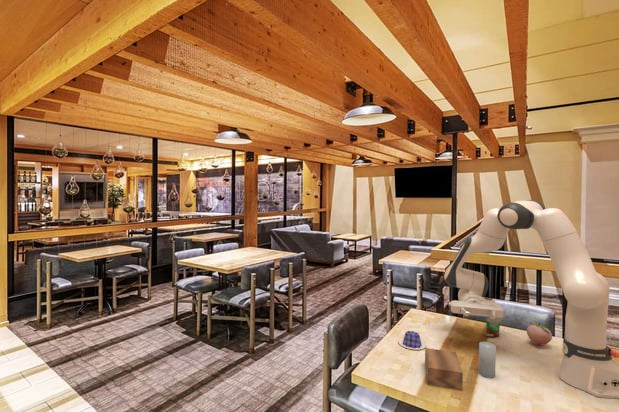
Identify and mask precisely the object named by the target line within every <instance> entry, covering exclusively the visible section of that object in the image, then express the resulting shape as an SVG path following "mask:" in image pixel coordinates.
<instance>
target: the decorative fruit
mask: <svg viewBox="0 0 619 412" xmlns="http://www.w3.org/2000/svg"><path fill="white" fill-rule="evenodd" d="M529 324H530V325H529V326H527V329H526V334H527V336H528V338H529V340H530V341H532V342H533V343H535V344H536V345H537V346H543V345H547V344H549V343H550V342H551V341H552V339H553V335H552V331H551V330H550V329H549V328H547V327H546V326H543V325H540V324H541V323H540V322H538V323H537V322H530V323H529Z"/></svg>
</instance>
